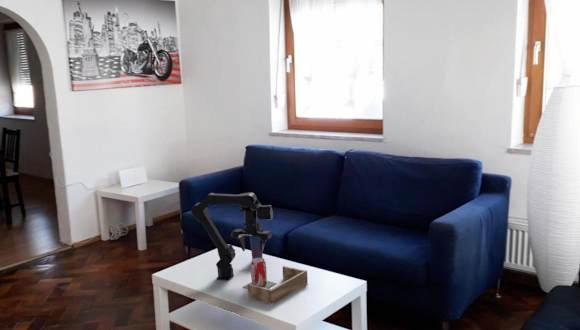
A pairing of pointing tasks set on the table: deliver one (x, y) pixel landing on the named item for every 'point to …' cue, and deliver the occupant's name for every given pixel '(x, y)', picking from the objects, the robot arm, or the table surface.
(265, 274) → the soda can
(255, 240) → the cup
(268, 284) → the mat
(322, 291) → the table surface
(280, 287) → the crate
